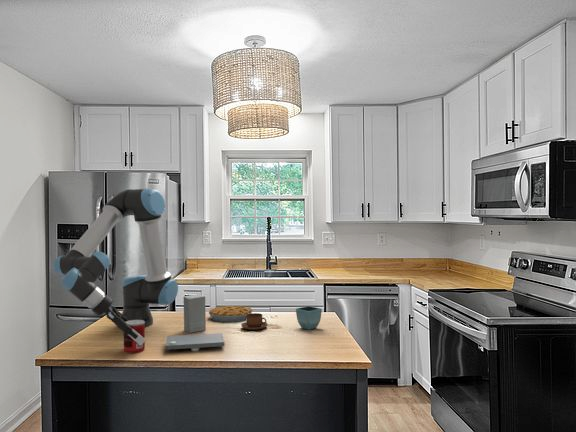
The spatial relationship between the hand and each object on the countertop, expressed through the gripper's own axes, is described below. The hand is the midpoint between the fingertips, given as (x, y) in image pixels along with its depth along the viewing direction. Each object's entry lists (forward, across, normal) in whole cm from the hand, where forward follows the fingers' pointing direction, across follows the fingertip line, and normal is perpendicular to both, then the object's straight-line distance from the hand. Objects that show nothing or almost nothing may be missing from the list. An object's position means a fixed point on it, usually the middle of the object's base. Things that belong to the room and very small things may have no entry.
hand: (142, 338), depth 183 cm
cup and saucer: (+39, -16, +32) cm, 53 cm away
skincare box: (+20, -22, +14) cm, 33 cm away
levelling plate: (+17, +4, +11) cm, 21 cm away
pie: (+36, -41, +29) cm, 62 cm away
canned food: (+1, 0, -5) cm, 5 cm away
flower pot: (+55, -6, +49) cm, 74 cm away
